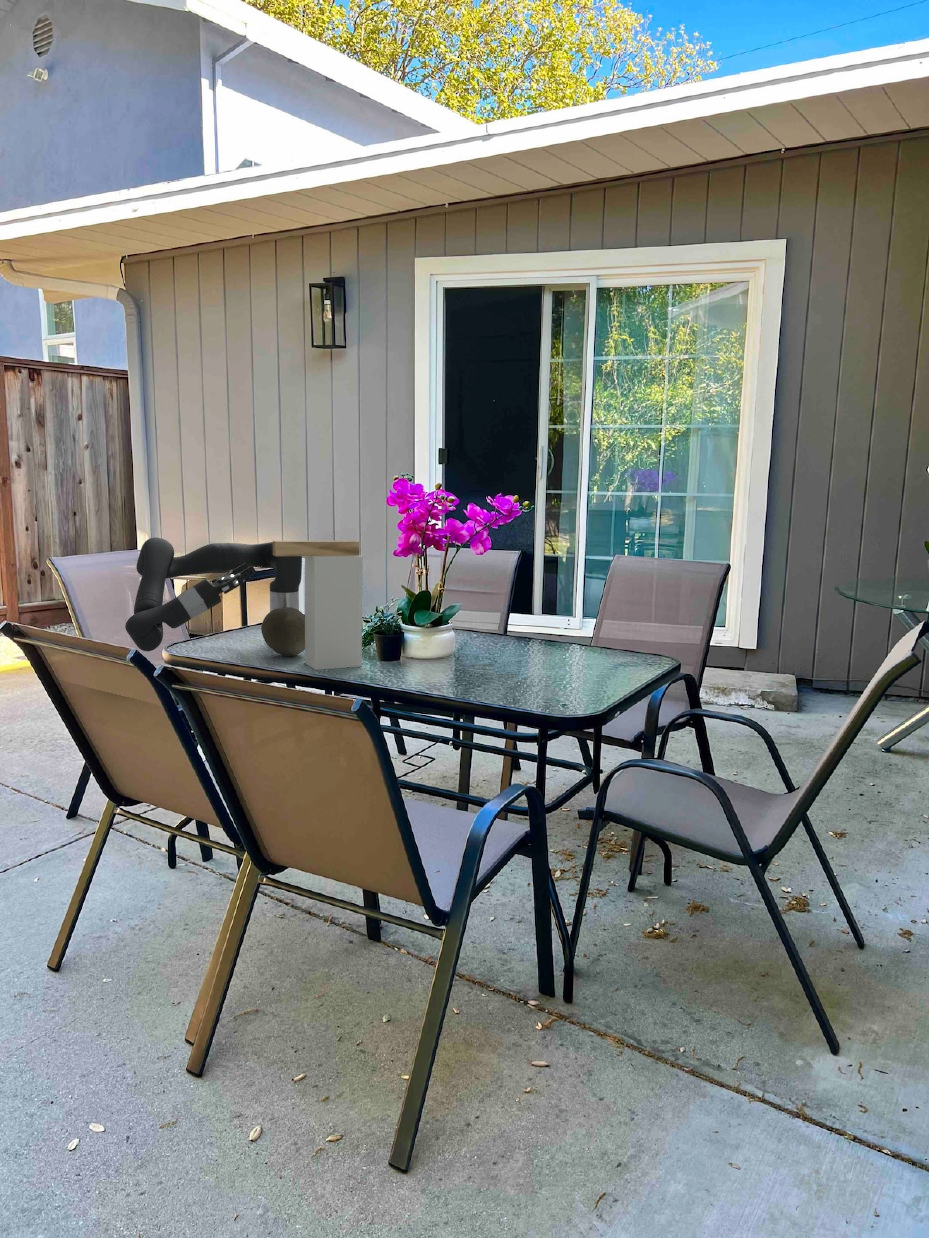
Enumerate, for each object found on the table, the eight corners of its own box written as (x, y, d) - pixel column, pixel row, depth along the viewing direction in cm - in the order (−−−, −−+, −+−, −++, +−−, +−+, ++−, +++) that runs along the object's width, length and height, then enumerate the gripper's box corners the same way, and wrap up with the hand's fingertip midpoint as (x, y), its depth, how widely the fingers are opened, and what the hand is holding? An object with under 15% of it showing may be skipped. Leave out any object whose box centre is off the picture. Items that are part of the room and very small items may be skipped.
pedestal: (305, 663, 257) (304, 553, 252) (350, 659, 263) (351, 553, 258) (314, 669, 248) (314, 556, 243) (361, 666, 254) (362, 556, 249)
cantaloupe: (296, 650, 276) (296, 603, 273) (318, 658, 265) (318, 608, 262) (254, 654, 267) (254, 605, 265) (275, 662, 256) (274, 612, 254)
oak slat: (272, 555, 245) (272, 540, 244) (354, 554, 255) (354, 540, 255) (276, 556, 242) (276, 541, 241) (359, 555, 252) (359, 541, 251)
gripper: (202, 607, 244) (252, 576, 248) (211, 614, 231) (263, 581, 236) (187, 584, 241) (238, 553, 246) (195, 590, 228) (249, 558, 233)
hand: (250, 567), depth 241 cm, fingers open, 8 cm apart
